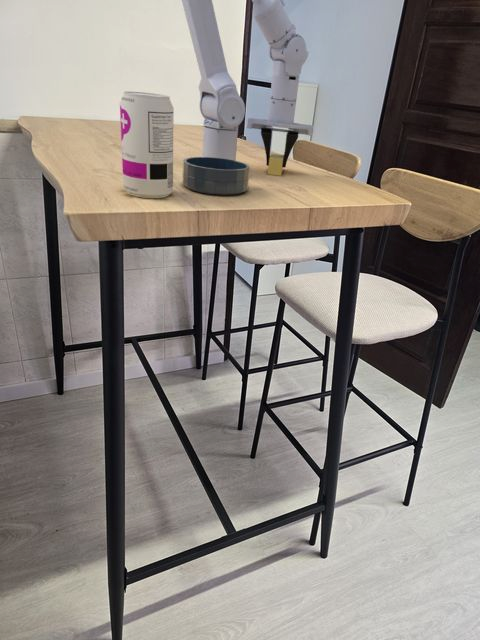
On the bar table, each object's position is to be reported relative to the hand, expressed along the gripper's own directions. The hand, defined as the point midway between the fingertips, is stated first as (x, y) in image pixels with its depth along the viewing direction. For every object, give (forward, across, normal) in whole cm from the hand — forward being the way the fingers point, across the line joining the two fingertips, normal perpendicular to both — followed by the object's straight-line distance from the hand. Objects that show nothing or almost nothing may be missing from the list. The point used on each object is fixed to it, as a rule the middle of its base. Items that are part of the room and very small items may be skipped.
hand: (275, 165), depth 109 cm
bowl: (+1, -12, -23) cm, 26 cm away
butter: (+1, 0, 0) cm, 1 cm away
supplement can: (+2, -22, -33) cm, 39 cm away
